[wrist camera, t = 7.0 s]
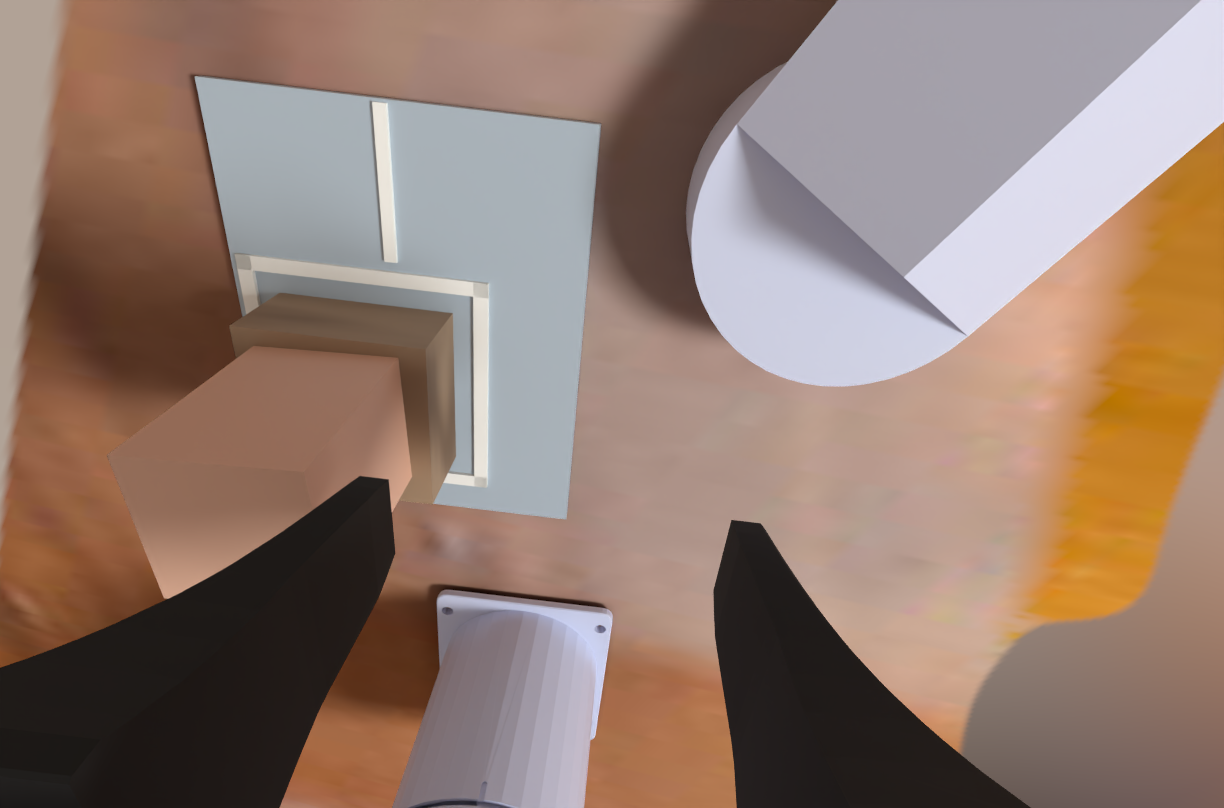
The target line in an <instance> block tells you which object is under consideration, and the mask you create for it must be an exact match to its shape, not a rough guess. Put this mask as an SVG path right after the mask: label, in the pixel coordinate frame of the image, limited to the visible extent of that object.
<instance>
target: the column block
mask: <svg viewBox="0 0 1224 808" xmlns="http://www.w3.org/2000/svg"><path fill="white" fill-rule="evenodd" d="M107 457H108V460H109V462H110V465H111V467H112V470H113V472H114V475H115V477H116V480H117V482H118V485H119V487H120V490H121V492H122V495H123V497H124V500H125V502H126V505H127V507H128V510H129V512H130V515H131V517H132V520H133V522H134V525H135V527H136V530H137V532H138V535H139V537H140V540H141V542H142V545H143V547H144V550H145V552H146V555H147V557H148V560H149V562H150V564H151V567H152V569H153V572H154V574H155V577H156V579H157V582H158V584H159V587H160V589H161V592H162V594H163V597H164V598H167V599H169V598H171V597H173V596H175V595H177V594H179V593H181V592H183V591H184V590H186V589H188V588H190V587H192V586H194V585H196V584H197V583H199V582H201V581H203V580H205V579H207V578H208V577H210V576H212V575H214V574H215V573H217V572H219V571H221V570H222V569H224V568H226V567H227V566H229V565H231V564H233V563H234V562H236V561H237V560H239V559H240V558H242V557H244V556H245V555H247V554H248V553H250V552H251V551H253V550H254V549H256V548H258V547H259V546H261V545H262V544H264V543H265V542H267V541H268V540H270V539H272V538H273V537H275V536H276V535H278V534H279V533H281V532H282V531H284V530H285V529H286V528H288V527H289V526H291V525H292V524H294V523H295V522H296V521H298V520H299V519H301V518H302V517H304V516H305V515H306V514H308V513H309V512H311V511H312V510H313V509H315V508H316V507H317V506H319V505H320V504H322V503H323V502H324V501H326V500H327V499H328V498H330V497H331V496H333V495H334V494H335V493H337V492H338V491H339V490H341V489H342V488H343V487H345V486H346V485H348V484H349V483H350V482H352V481H353V480H355V479H356V478H358V477H359V476H365V477H373V478H382V479H389V488H390V499H391V510H392V511H393V510H394V508H395V506H396V504H397V503H398V501H399V499H400V497H401V495H402V494H403V492H404V490H405V488H406V487H407V485H408V483H409V481H410V479H411V478H412V472H411V464H410V455H409V446H408V438H407V429H406V420H405V412H404V403H403V394H402V386H401V377H400V368H399V360H398V358H396V357H384V356H371V355H359V354H347V353H335V352H323V351H310V350H298V349H286V348H274V347H262V346H253V347H251V348H250V349H249V350H247V351H246V352H245V353H243V354H242V355H241V356H239V357H238V358H236V359H235V360H234V361H232V362H231V363H230V364H228V365H227V366H226V367H224V368H223V369H222V370H220V371H219V372H218V373H216V374H215V375H214V376H212V377H211V378H210V379H208V380H207V381H206V382H204V383H203V384H202V385H200V386H199V387H197V388H196V389H195V390H193V391H192V392H191V393H189V394H188V395H187V396H185V397H184V398H183V399H181V400H180V401H179V402H177V403H176V404H175V405H173V406H172V407H171V408H169V409H168V410H167V411H165V412H164V413H163V414H161V415H160V416H158V417H157V418H156V419H154V420H153V421H152V422H150V423H149V424H148V425H146V426H145V427H144V428H142V429H141V430H140V431H138V432H137V433H136V434H134V435H133V436H132V437H130V438H129V439H128V440H126V441H125V442H124V443H122V444H121V445H119V446H118V447H117V448H115V449H114V450H113V451H111V452H110V453H109V454H107Z"/></svg>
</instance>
